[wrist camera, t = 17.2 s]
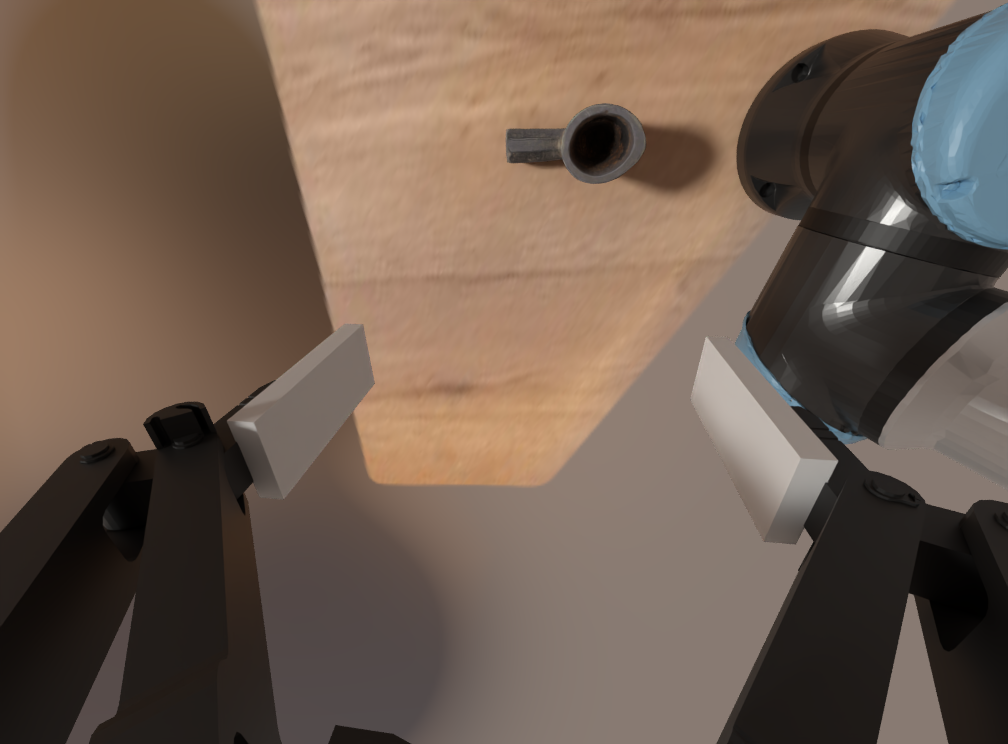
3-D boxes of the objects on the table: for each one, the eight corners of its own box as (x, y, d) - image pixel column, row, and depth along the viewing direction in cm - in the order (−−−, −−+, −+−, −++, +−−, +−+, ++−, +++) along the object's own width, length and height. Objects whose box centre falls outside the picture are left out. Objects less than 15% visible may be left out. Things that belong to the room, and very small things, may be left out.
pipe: (508, 115, 41) (497, 109, 35) (636, 108, 40) (652, 100, 33) (509, 180, 44) (500, 187, 37) (629, 176, 43) (642, 182, 36)
